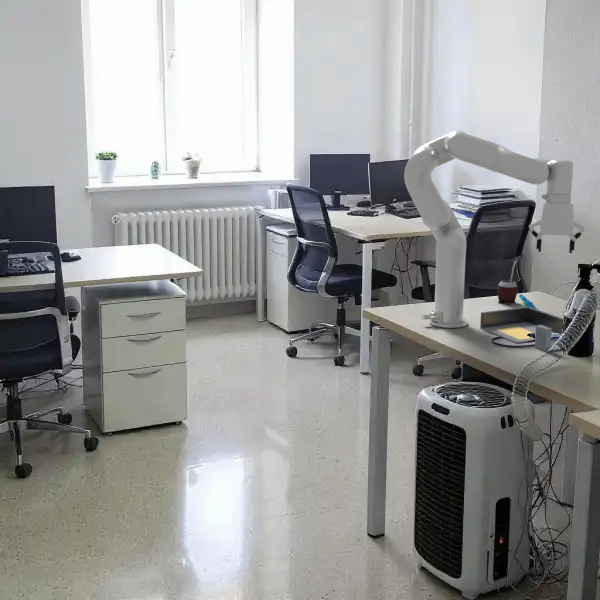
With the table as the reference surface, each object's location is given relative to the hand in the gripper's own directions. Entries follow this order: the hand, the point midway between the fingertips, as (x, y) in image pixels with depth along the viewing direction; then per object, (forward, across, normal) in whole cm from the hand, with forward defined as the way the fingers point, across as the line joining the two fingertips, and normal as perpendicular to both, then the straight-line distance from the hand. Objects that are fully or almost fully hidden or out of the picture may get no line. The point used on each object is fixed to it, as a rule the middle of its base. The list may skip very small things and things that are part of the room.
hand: (554, 251), depth 293 cm
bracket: (+26, -1, -24) cm, 35 cm away
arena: (+26, -9, -9) cm, 28 cm away
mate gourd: (+26, -14, +33) cm, 44 cm away
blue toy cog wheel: (+26, -7, +16) cm, 31 cm away
